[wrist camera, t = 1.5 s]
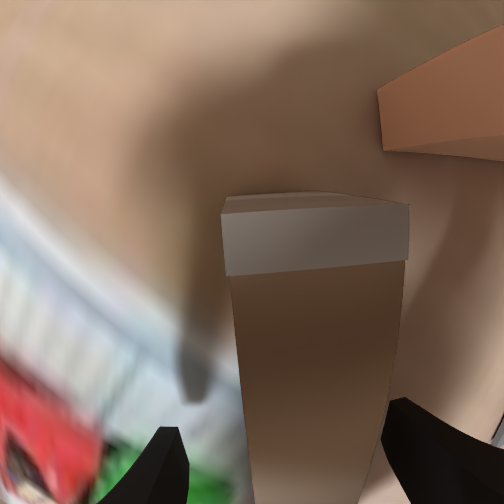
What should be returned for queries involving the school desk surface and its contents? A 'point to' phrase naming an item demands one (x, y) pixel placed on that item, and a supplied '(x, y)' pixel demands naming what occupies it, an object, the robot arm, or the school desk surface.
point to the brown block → (314, 335)
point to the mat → (499, 436)
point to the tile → (449, 102)
